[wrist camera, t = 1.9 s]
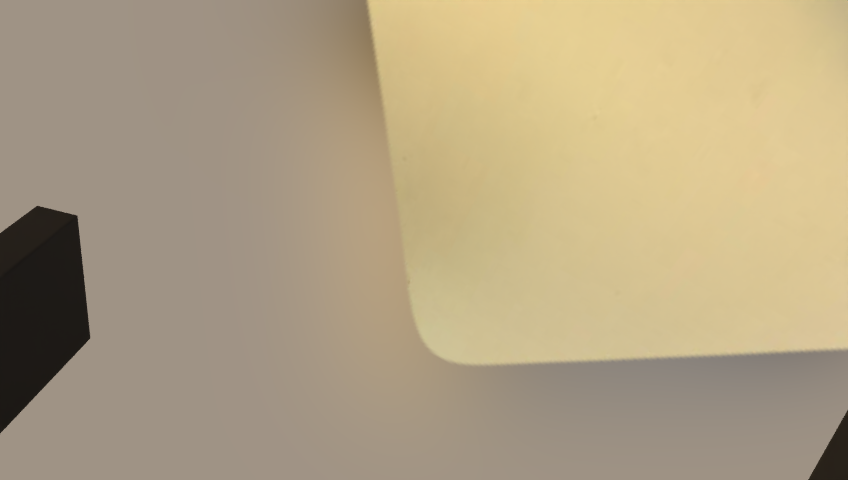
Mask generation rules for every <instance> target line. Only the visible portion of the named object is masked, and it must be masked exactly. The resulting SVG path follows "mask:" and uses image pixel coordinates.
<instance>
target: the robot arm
mask: <svg viewBox="0 0 848 480" xmlns="http://www.w3.org/2000/svg"><path fill="white" fill-rule="evenodd" d="M89 339H90V332H89V322H88V313H87V303H86V293H85V285H84V274H83V265H82V256H81V246H80V236H79V227H78V218H77V216H76V215H72V214H68V213H64V212H60V211H56V210H52V209H48V208H44V207H40V206H36V207H35V208H34V209H32V210H31V211H30V212H28V213H27V214H26V215H24V216H23V217H21V218H20V219H19V220H17V221H16V222H15V223H13V224H12V225H11V226H9V227H8V228H7V229H5V230H4V231H3V232H1V233H0V433H1V432H2V431H3V430H4V429H5V428H6V427H7V426H8V425H9V424H10V423H11V421H12V420H13V419H14V418H15V417H16V416H17V415H18V414H19V413H20V412H21V411H22V410H23V409H24V408H25V407H26V406H27V405H28V403H29V402H30V401H31V400H32V399H33V398H34V397H35V396H36V395H37V394H38V393H39V392H40V391H41V390H42V389H43V388H44V387H45V386H46V384H47V383H48V382H49V381H50V380H51V379H52V378H53V377H54V376H55V375H56V374H57V373H58V372H59V371H60V370H61V369H62V368H63V366H64V365H65V364H66V363H67V362H68V361H69V360H70V359H71V358H72V357H73V356H74V355H75V354H76V353H77V352H78V351H79V350H80V349H81V347H82V346H83V345H84V344H85V343H86V342H87V341H88V340H89ZM808 480H848V411H847V413H846V414H845V416H844V418H843V420H842V421H841V423H840V425H839V427H838V429H837V430H836V432H835V434H834V435H833V437H832V439H831V441H830V442H829V444H828V446H827V448H826V449H825V451H824V453H823V455H822V457H821V458H820V460H819V462H818V464H817V465H816V467H815V469H814V471H813V472H812V474H811V476H810V478H809V479H808Z"/></svg>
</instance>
